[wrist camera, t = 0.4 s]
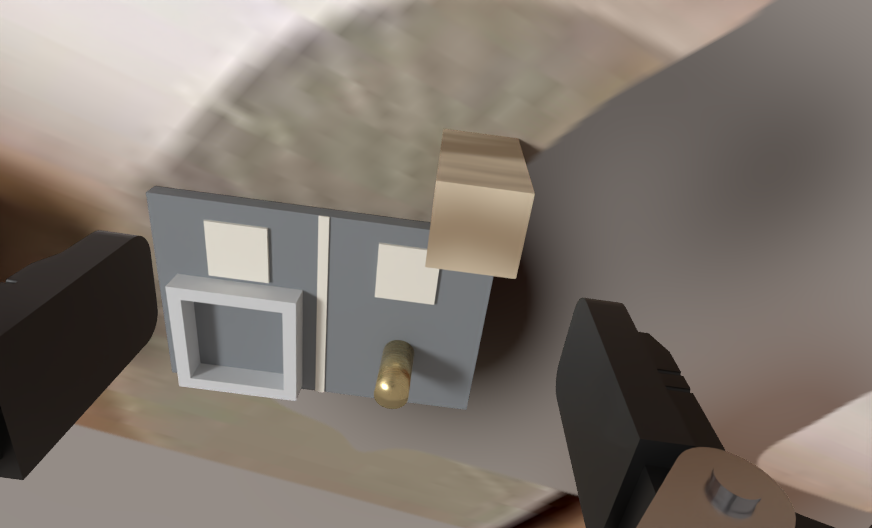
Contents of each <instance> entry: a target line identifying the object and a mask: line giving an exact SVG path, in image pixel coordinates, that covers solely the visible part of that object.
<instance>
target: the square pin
mask: <svg viewBox="0 0 872 528" xmlns="http://www.w3.org/2000/svg"><path fill="white" fill-rule="evenodd" d="M534 196H535V193H534V189H533V186H532V183H531V179H530V176H529V173H528V169H527V166H526V163H525V159H524V156H523V153H522V149H521V146H520V143H519V139H517V138H510V137H502V136H495V135H487V134H480V133H473V132H465V131H458V130H451V129H444V130H443V137H442V144H441V151H440V158H439V165H438V172H437V179H436V186H435V194H434V201H433V209H432V217H431V225H430V232H429V240H428V248H427V256H426V263H425V267H428V268H436V269H444V270H451V271H459V272H467V273H474V274H482V275H489V276H498V277H505V278H513V279H516V276H517V271H518V267H519V262H520V258H521V253H522V249H523V244H524V240H525V236H526V231H527V227H528V222H529V218H530V214H531V209H532V204H533V200H534Z"/></svg>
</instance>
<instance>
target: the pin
mask: <svg viewBox="0 0 872 528" xmlns="http://www.w3.org/2000/svg"><path fill="white" fill-rule="evenodd" d="M413 360H414V349H413V348H412V346H411V345H410V344H409V343H407V342H405V341H402V340H394V341H391V342H389V343H387V344H386V345H385V347H384V349H383V354H382V358H381V363H380V368H379V372H378V377H377V381H376V386H375V390H374V398H375V400H376V402H377V403H378V404H379V405H381V406H382V407H385V408H389V409H397V408H400V407H402V406H404V405H405V404H406V403H407V401H408V397H409V389H410V382H411V375H412V367H413Z"/></svg>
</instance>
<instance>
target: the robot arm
mask: <svg viewBox="0 0 872 528" xmlns="http://www.w3.org/2000/svg"><path fill="white" fill-rule="evenodd" d="M157 316H158V309H157V300H156V292H155V284H154V276H153V268H152V260H151V252H150V247H149V244H148V242H147V240H146V239H145V238H144V237H142V236H137V235H130V234H123V233H115V232H108V231H99V230H98V231H95V232H93V233H91V234H90V235H88V236H87V237H85V238H83V239H82V240H80V241H79V242H77V243H76V244H74V245H73V246H71V247H70V248H68V249H66V250H65V251H63V252H62V253H60V254H57V255H54V256H51V257H49V258H46V259H43V260H40V261H37V262H34V263H32V264H30V265H28V266H26V267H25V268H23V269H22V270H20V271H18V272H17V273H15V274H14V275H12V276H10V277H9V278H7V279H6V283H3V282H1V283H0V477H4V478H11V479H19V480H24V478H25V477H27V475H28V474H29V473H30V472H31V471H32V470H33V469H34V468H35V467H36V466H37V464H38V463H39V462H40V461H41V460H42V459H43V458H44V457H45V456H46V454H47V453H48V452H49V451H50V450H51V449H52V448H53V447H54V445H56V443H57V442H58V441H59V440H60V439H61V438H62V437H63V436H64V435H65V433H66V432H67V431H68V430H69V429H70V428H71V427H72V426H73V425H74V423H75V422H76V421H77V420H78V419H79V418H80V417H81V416H82V415H83V414H84V412H85V411H86V410H87V409H88V408H89V407H90V406H91V405H92V404H93V402H94V401H95V400H96V399H97V398H98V397H99V396H100V395H101V394H102V393H103V391H104V390H105V389H106V388H107V387H108V386H109V385H110V384H111V383H112V381H113V380H114V379H115V378H116V377H117V376H118V375H119V374H120V373H121V371H122V370H123V369H124V368H125V367H126V366H127V365H128V364H129V363H130V362H131V360H132V359H133V358H134V357H135V356H136V355H137V354H138V353H139V352H140V350H141V349H142V348H143V347H144V346H145V345H146V344H147V343H148V341H149V340H150V338H151V337H152V334H153V332H154V330H155V326H156V322H157ZM680 373H681V371H680V370H679V368H678V366H677V364H676V363H675V361H674V359H673V357H672V355H671V354H670V352H669V351H668V350H667V349H666V348H665V347H663V346H662V345H661V344H660V343H659V342H658V341H657V340H655V339H654V338H653V337H652V336H651V335H650V334H648V333H642V332H638V331H637V329H636V327H635V325H634V323H633V321H632V319H631V317H630V315H629V313H628V312H627V309H626V307H625V306H624V305H623V304H622V303H618V302H611V301H603V300H596V299H589V298H581V299H579V301H578V302H577V304H576V307H575V310H574V313H573V317H572V320H571V323H570V327H569V330H568V334H567V337H566V341H565V344H564V348H563V351H562V355H561V358H560V361H559V365H558V370H557V377H556V396H557V402H558V406H559V411H560V415H561V420H562V424H563V428H564V433H565V437H566V442H567V446H568V451H569V455H570V459H571V464H572V468H573V473H574V477H575V482H576V486H577V491H578V495H579V500H580V504H581V508H582V513H583V517H584V522H585V526H586V528H834V527H832V526H829V525H826V524H824V523H821V522H818V521H816V520H813V519H810V518H808V517H805V516H802V515H800V514H798V513H795V510H794V508H793V506H792V503H791V501H790V500H789V498H788V496H787V495H786V493H785V492H784V491H783V490H782V488H781V487H780V486H779V485H778V484H777V483H776V482H775V481H774V480H773V479H772V478H771V477H770V476H769V475H768V474H766V473H765V472H764V471H763V470H761V469H760V468H758V467H757V466H756V465H754V464H752V463H750V462H749V461H747V460H745V459H743V458H741V457H739V456H737V455H735V454H732V453H730V452H727V451H725V449H724V447H723V445H722V444H721V442H720V440H719V438H718V437H717V435H716V433H715V431H714V430H713V428H712V426H711V424H710V422H709V421H708V419H707V417H706V415H705V414H704V412H703V410H702V409H701V407H700V405H699V403H698V401H697V400H696V398H695V396H694V395H693V393H690V387H689V385H688V384H687V382H686V380H685V378H684V377H683V376H681V375H680ZM869 528H872V525H871V526H870V527H869Z"/></svg>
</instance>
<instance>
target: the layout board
mask: <svg viewBox="0 0 872 528" xmlns="http://www.w3.org/2000/svg"><path fill="white" fill-rule="evenodd" d="M146 196H147V203H148V210H149V216H150V223H151V230H152V237H153V244H154V250H155V257H156V264H157V271H158V278H159V285H160V291H161V298H162V305H163V312H164V319H165V325H166V332H167V339H168V346H169V353H170V359H171V366H172V372H175V373H178V380H179V386H183V387H190V388H198V389H206V390H214V391H222V392H230V393H237V394H245V395H253V396H261V397H269V398H277V399H285V400H293V401H296V400H297V398H298V395H299V393H300V390H301V389H309V390H315V391H317V392H332V393H340V394H348V395H356V396H364V397H371V398H374V390H375V386H376V381H377V377H378V372H379V368H380V363H381V358H382V354H383V349H384V347H385V345H386V344H387V343H389V342H391V341H394V340H402V341H405V342H407V343H409V344H410V345H411V346H412V348H413V349H414V360H413V367H412V375H411V382H410V389H409V397H408V401H407V402H410V403H418V404H426V405H434V406H441V407H449V408H457V409H465V410H466V409H467V404H468V400H469V395H470V390H471V385H472V380H473V375H474V370H475V364H476V360H477V355H478V350H479V345H480V340H481V335H482V330H483V325H484V320H485V315H486V310H487V305H488V301H489V296H490V290H491V286H492V280H493V276H489V275H482V274H474V273H467V272H459V271H451V270H444V269H436V268H428V267H425V263H426V256H427V248H428V240H429V232H430V225H431V223H430V222H422V221H414V220H407V219H399V218H392V217H384V216H377V215H369V214H362V213H354V212H347V211H339V210H332V209H324V208H317V207H309V206H302V205H294V204H287V203H279V202H272V201H264V200H257V199H249V198H242V197H234V196H226V195H219V194H211V193H204V192H196V191H189V190H181V189H174V188H166V187H159V186H154V187H153V188H151V189H150V190H149V191H147V192H146Z"/></svg>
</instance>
